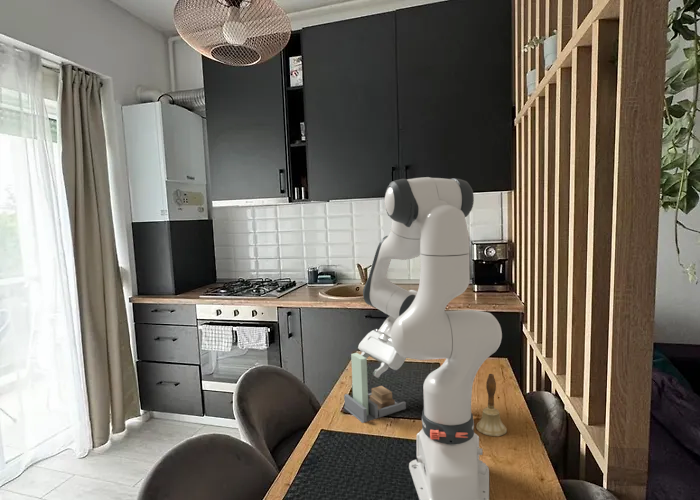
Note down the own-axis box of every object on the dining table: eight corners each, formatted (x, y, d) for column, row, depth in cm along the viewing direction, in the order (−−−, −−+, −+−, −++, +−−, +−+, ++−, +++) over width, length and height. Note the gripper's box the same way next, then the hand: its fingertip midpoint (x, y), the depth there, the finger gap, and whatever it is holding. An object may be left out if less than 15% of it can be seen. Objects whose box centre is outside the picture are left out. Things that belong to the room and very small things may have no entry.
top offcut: (381, 392, 133) (381, 385, 133) (392, 399, 128) (392, 392, 128) (371, 395, 131) (371, 388, 131) (381, 403, 126) (381, 395, 126)
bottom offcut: (382, 399, 134) (382, 392, 134) (394, 407, 128) (394, 399, 128) (369, 403, 132) (369, 395, 132) (381, 411, 126) (381, 404, 126)
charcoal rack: (384, 397, 138) (384, 383, 137) (406, 411, 127) (405, 396, 127) (343, 409, 130) (342, 395, 130) (362, 426, 120) (361, 409, 119)
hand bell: (479, 419, 121) (479, 367, 120) (509, 425, 117) (508, 372, 115) (472, 432, 114) (472, 377, 113) (503, 439, 110) (503, 382, 108)
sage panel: (358, 407, 129) (356, 352, 128) (368, 415, 124) (366, 358, 123) (353, 409, 128) (351, 354, 127) (363, 416, 123) (360, 359, 122)
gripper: (368, 322, 138) (344, 356, 134) (404, 337, 120) (378, 376, 116) (380, 333, 141) (357, 366, 137) (416, 348, 123) (391, 387, 119)
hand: (367, 371), depth 127 cm, fingers open, 8 cm apart
